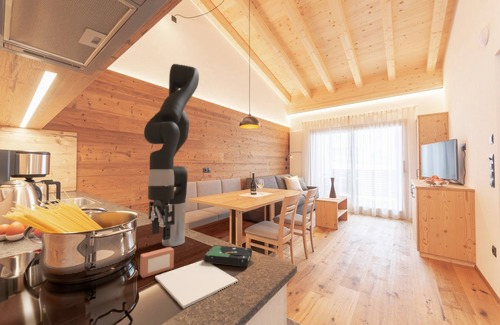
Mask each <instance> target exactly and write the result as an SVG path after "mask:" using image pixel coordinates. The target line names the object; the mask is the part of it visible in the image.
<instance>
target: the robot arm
mask: <svg viewBox="0 0 500 325" xmlns="http://www.w3.org/2000/svg"><path fill="white" fill-rule="evenodd" d="M168 76H169V80H168V96H167V97H166V98H165V99H164V100H163V103H162V105H161V107H160V109H159V111H158V112H156V113H155V114H154V116H152V117H151V118H150V119H149V121H147V122H146V124H145V126H144V130H143V135H144V136H143V137H144V138H145V141H146V142H148V143H149V144H152V145H162V146H161V148H159V149H157V150H155V151H152V152H151V153H150V154H149V170H148V171H149V172H148V179H147V180H148V182H147V199H148V200H149V202H148V207H149V208H148V220H150V223H151V232H150V233H151V234H152V235H157V234H159V233H160V222H161V235H162V236H161V245H162V246H164V247H176V246H177V247H178V246H180V245H183V244H184V243H185V242H186V240H185V238H186V235H185V234H186V198H187V193H188V192H187V188H188V177H189V176H188V170H187V168H186V167H185V166H178V165H177V166H176V165H175V164H174V162H175V161H174V159H175V157H176V154H177V153H178V152H179V151H180V149H181V148H182V146H183V145H184V144H185V143H186V141H187V139H188V137H189V130H190V119H189V117H188V115H187V112H186V111H185V107H186V105H187V104H188V102H189V101H190V99H191V98H192V97H193V95H194V93H195V92H196V90H197V88H198V85H199V80H200V74H199V70H198V69H197V68H196V67H194V66H190V65H185V64H179V63H173V64H172V65H171V66H170V69H169V75H168Z"/></svg>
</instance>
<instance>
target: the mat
mask: <svg viewBox="0 0 500 325" xmlns="http://www.w3.org/2000/svg"><path fill="white" fill-rule="evenodd" d="M154 278H155V280H156V281H157V282H158V283H159V284H160V285H161V286H162V287H163V288H164V289H165V290H166V291H167V293H168V294H169V295H170V296H171V298H173V299H174V300H175V302H177V304H178V305H179V306H180V307H182V309H183V310H184V309H186V308H188V307H190V306H192V305H193V304H194V305H195V304H196V303H199V302H200V301H202V300H205V299H206V298H208V297H210V296H212V295H215V294H216V293H219V292H221V291H223V290H225V289H226V287H227V288H229V287H231V286H233V285H235V284H237V283H239V280H238V279H237V278H236V277H234V276H232V275H230V274H228V273H227V272H225V271H223V270H222V269H221V268H218V267H217V266H215V265H214V264H213V263H206V262H204V259H202V260H199V261H196V262H194V263H191V264H187V265H184V266H181V267H178V268H175V269H173V270H172V269H171V270H170V271H169V270H168V271H167V272H163V273H161V274H156V275H155V277H154ZM236 282H237V283H236ZM234 283H235V284H234ZM230 285H231V286H230ZM228 286H229V287H228ZM224 288H225V289H224ZM222 289H223V290H222ZM220 290H221V291H220ZM218 291H219V292H218Z"/></svg>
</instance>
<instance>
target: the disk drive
mask: <svg viewBox="0 0 500 325" xmlns="http://www.w3.org/2000/svg"><path fill="white" fill-rule="evenodd" d="M252 255H253V248H250V247H239V246H228V245H227V246H226V245H217V244H216V245H215V244H214V245H213V246H212V247H211V248H209V251H207V252H206V253H204V256H203V260H204V262H206V263H210V264H216V265H226V266H227V265H228V266H238V267H248V265H249V263H250V260H251V258H252Z"/></svg>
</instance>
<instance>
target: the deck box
mask: <svg viewBox="0 0 500 325" xmlns="http://www.w3.org/2000/svg"><path fill="white" fill-rule="evenodd" d="M174 258H175V249H174V248H173V247H172V246H167V247H164V248H161V249H157V250H152V251H149V252H144V253H141V254H140V257H139V259H140V261H139V263H140V264H139V265H140V266H139V275H140V276H141V278H142V279H145V278H147V277H150V276H154V275H158V274H159V273H162V272H163V273H164V272H165V271H169V270H172V269H174V268H175V267H174V265H175V264H174Z"/></svg>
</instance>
